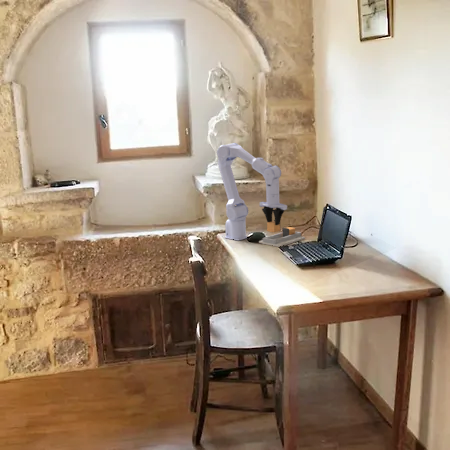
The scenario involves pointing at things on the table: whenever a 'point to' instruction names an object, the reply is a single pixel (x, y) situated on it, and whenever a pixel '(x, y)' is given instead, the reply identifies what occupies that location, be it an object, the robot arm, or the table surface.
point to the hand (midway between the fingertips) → (273, 224)
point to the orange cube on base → (273, 227)
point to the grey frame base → (283, 237)
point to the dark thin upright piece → (320, 226)
